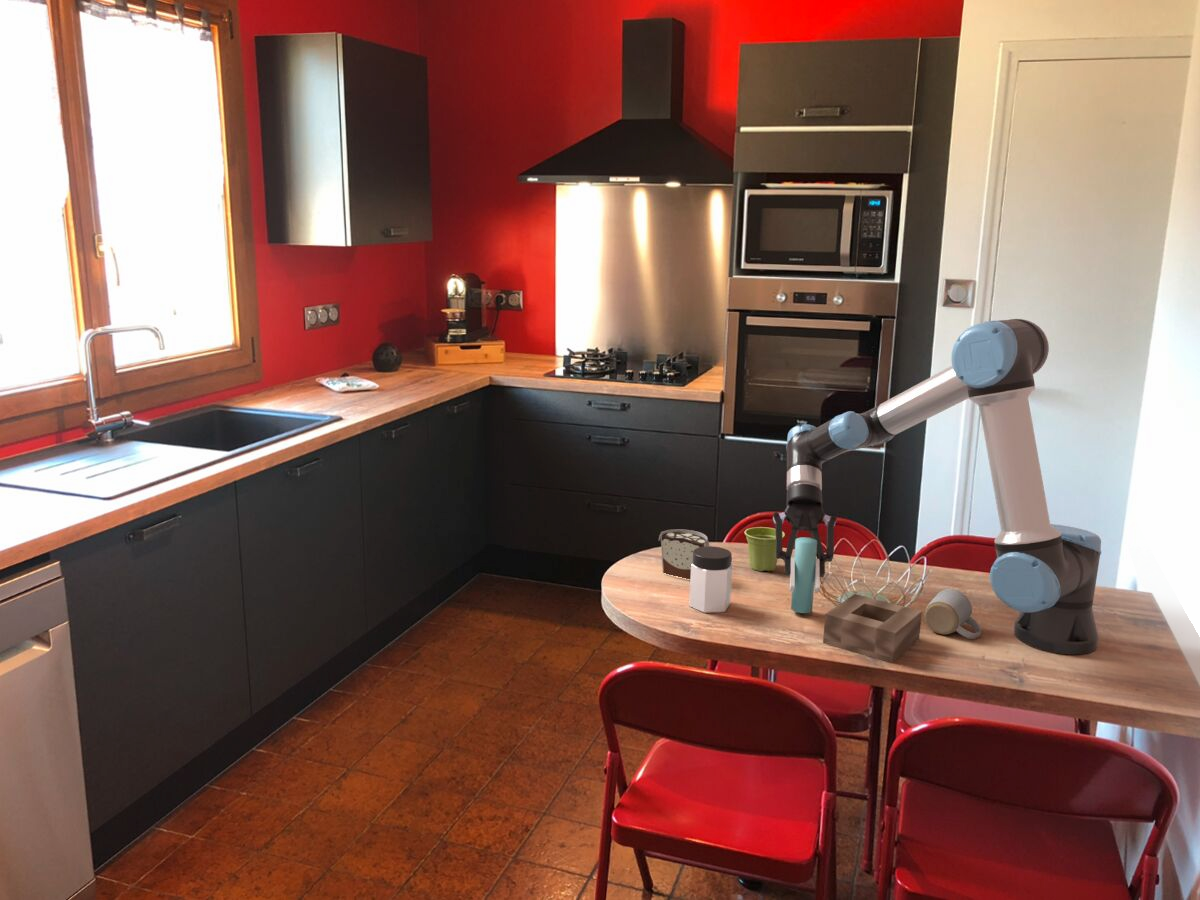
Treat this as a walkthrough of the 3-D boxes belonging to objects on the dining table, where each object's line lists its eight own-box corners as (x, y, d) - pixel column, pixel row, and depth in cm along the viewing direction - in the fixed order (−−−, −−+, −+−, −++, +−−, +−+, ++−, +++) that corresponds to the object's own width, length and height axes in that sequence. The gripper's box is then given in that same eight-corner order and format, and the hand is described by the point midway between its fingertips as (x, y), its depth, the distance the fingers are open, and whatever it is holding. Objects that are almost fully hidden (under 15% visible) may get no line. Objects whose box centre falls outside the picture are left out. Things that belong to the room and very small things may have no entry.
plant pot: (734, 567, 234) (736, 532, 232) (755, 558, 241) (757, 524, 239) (769, 577, 228) (771, 541, 226) (789, 567, 235) (792, 532, 233)
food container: (716, 576, 228) (719, 535, 226) (705, 584, 223) (707, 541, 221) (669, 565, 234) (671, 525, 232) (657, 573, 229) (658, 531, 227)
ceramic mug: (920, 631, 200) (924, 595, 198) (932, 618, 206) (937, 584, 204) (973, 645, 194) (978, 609, 192) (985, 632, 200) (990, 597, 198)
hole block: (919, 639, 196) (921, 611, 194) (892, 662, 185) (895, 633, 183) (852, 621, 204) (854, 593, 202) (822, 642, 193) (825, 614, 192)
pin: (815, 608, 208) (820, 540, 204) (806, 614, 204) (811, 545, 201) (796, 603, 210) (801, 536, 207) (787, 609, 207) (791, 541, 203)
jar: (738, 607, 210) (741, 554, 207) (711, 616, 204) (714, 561, 202) (708, 595, 216) (710, 543, 214) (681, 603, 211) (683, 550, 209)
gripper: (842, 501, 217) (845, 599, 204) (762, 497, 219) (760, 594, 206) (847, 484, 210) (850, 584, 198) (764, 480, 212) (762, 579, 200)
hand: (804, 589), depth 202 cm, fingers closed on pin, 4 cm apart
